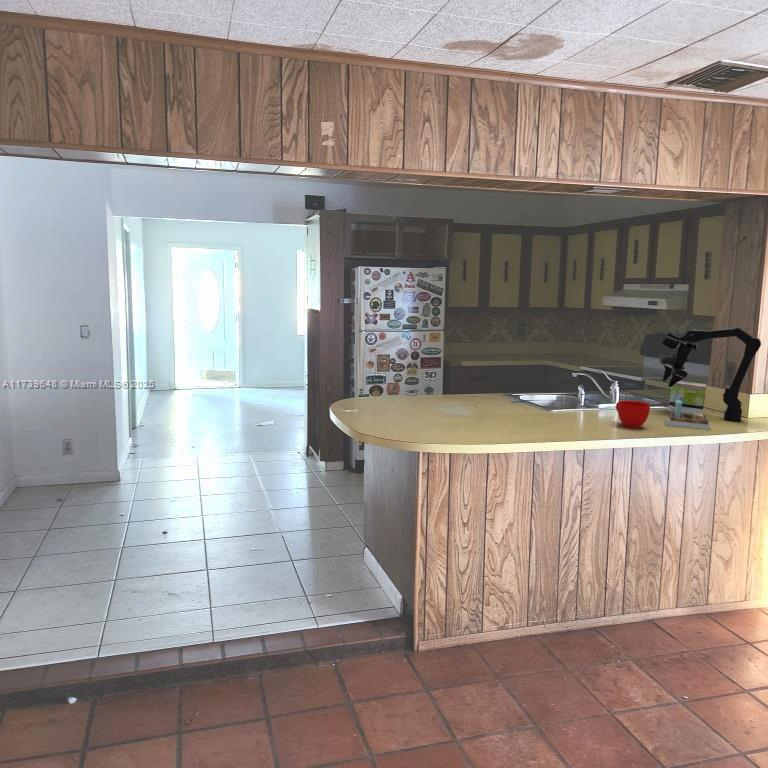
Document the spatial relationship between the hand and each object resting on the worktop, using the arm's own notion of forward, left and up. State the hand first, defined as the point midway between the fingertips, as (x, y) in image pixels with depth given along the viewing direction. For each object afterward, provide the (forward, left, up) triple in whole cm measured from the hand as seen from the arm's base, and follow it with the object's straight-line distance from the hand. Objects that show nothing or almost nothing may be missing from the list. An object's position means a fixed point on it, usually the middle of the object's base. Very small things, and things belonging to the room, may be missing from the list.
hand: (666, 383), depth 320 cm
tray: (-9, +16, -14) cm, 23 cm away
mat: (-8, +29, -14) cm, 33 cm away
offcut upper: (-14, +16, -12) cm, 24 cm away
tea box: (-10, -5, -14) cm, 18 cm away
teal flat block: (-5, +16, -13) cm, 22 cm away
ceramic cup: (+16, +40, -14) cm, 45 cm away
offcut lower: (-14, +16, -13) cm, 25 cm away
